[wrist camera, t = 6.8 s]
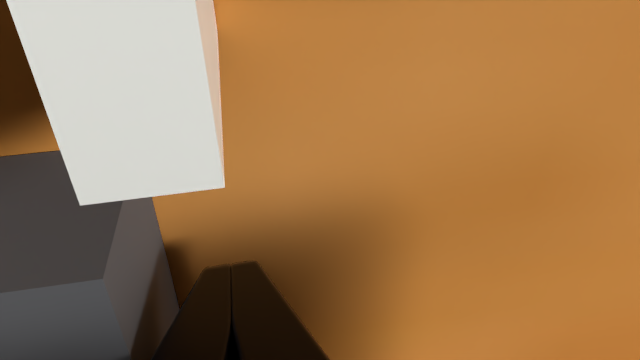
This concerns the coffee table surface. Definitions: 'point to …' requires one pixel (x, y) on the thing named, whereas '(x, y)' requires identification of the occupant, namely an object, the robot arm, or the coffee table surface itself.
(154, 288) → the block
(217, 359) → the robot arm
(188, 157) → the channel
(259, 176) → the coffee table surface
